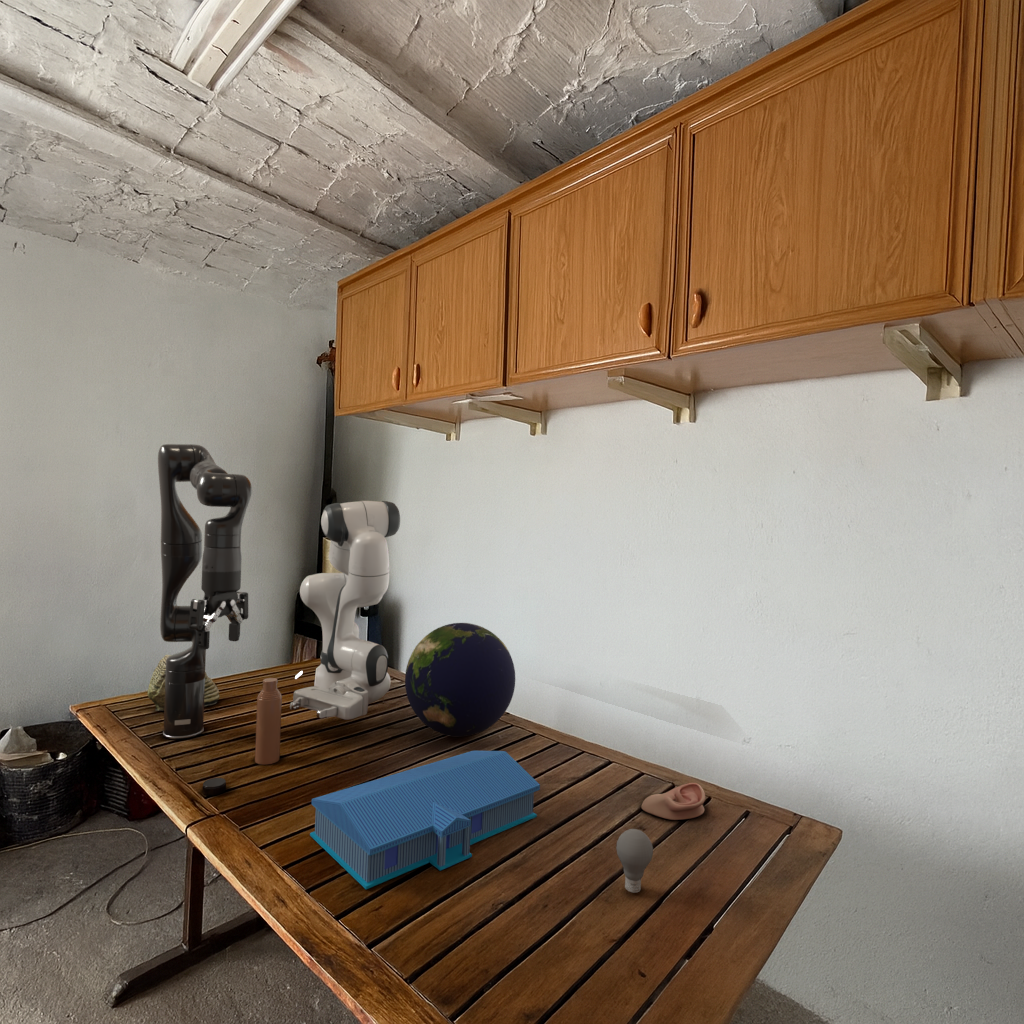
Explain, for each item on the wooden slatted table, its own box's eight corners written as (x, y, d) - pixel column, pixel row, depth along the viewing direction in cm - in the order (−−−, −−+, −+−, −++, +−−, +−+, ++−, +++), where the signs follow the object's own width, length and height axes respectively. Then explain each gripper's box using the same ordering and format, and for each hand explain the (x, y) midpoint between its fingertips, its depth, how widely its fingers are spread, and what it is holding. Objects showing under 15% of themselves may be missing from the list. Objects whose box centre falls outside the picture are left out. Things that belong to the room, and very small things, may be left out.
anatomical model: (642, 796, 131) (642, 773, 142) (641, 815, 131) (641, 791, 142) (708, 805, 128) (703, 781, 140) (707, 825, 129) (702, 799, 140)
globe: (380, 741, 165) (385, 626, 164) (436, 708, 192) (440, 610, 192) (485, 764, 153) (490, 641, 153) (528, 725, 181) (533, 621, 181)
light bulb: (610, 879, 108) (613, 822, 108) (644, 879, 109) (647, 822, 109) (619, 902, 102) (622, 840, 102) (655, 901, 103) (658, 840, 103)
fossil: (144, 707, 182) (145, 655, 182) (212, 696, 194) (213, 647, 194) (151, 716, 175) (153, 662, 175) (221, 703, 188) (223, 653, 188)
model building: (376, 899, 100) (378, 836, 100) (308, 834, 119) (310, 781, 118) (548, 822, 127) (550, 773, 127) (472, 779, 145) (474, 735, 145)
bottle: (281, 762, 150) (284, 681, 149) (256, 766, 147) (259, 684, 147) (278, 753, 155) (280, 675, 154) (253, 757, 152) (256, 677, 152)
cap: (217, 784, 137) (217, 775, 137) (230, 790, 135) (230, 781, 135) (197, 792, 133) (198, 783, 133) (211, 798, 131) (211, 789, 131)
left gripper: (210, 572, 125) (207, 654, 126) (259, 566, 139) (257, 640, 139) (180, 570, 128) (177, 649, 128) (231, 564, 141) (229, 636, 142)
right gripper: (316, 677, 178) (277, 690, 166) (372, 692, 168) (334, 706, 156) (315, 699, 178) (276, 714, 166) (371, 715, 169) (333, 732, 156)
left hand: (219, 644), depth 134 cm, fingers open, 8 cm apart
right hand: (305, 710), depth 161 cm, fingers open, 8 cm apart
